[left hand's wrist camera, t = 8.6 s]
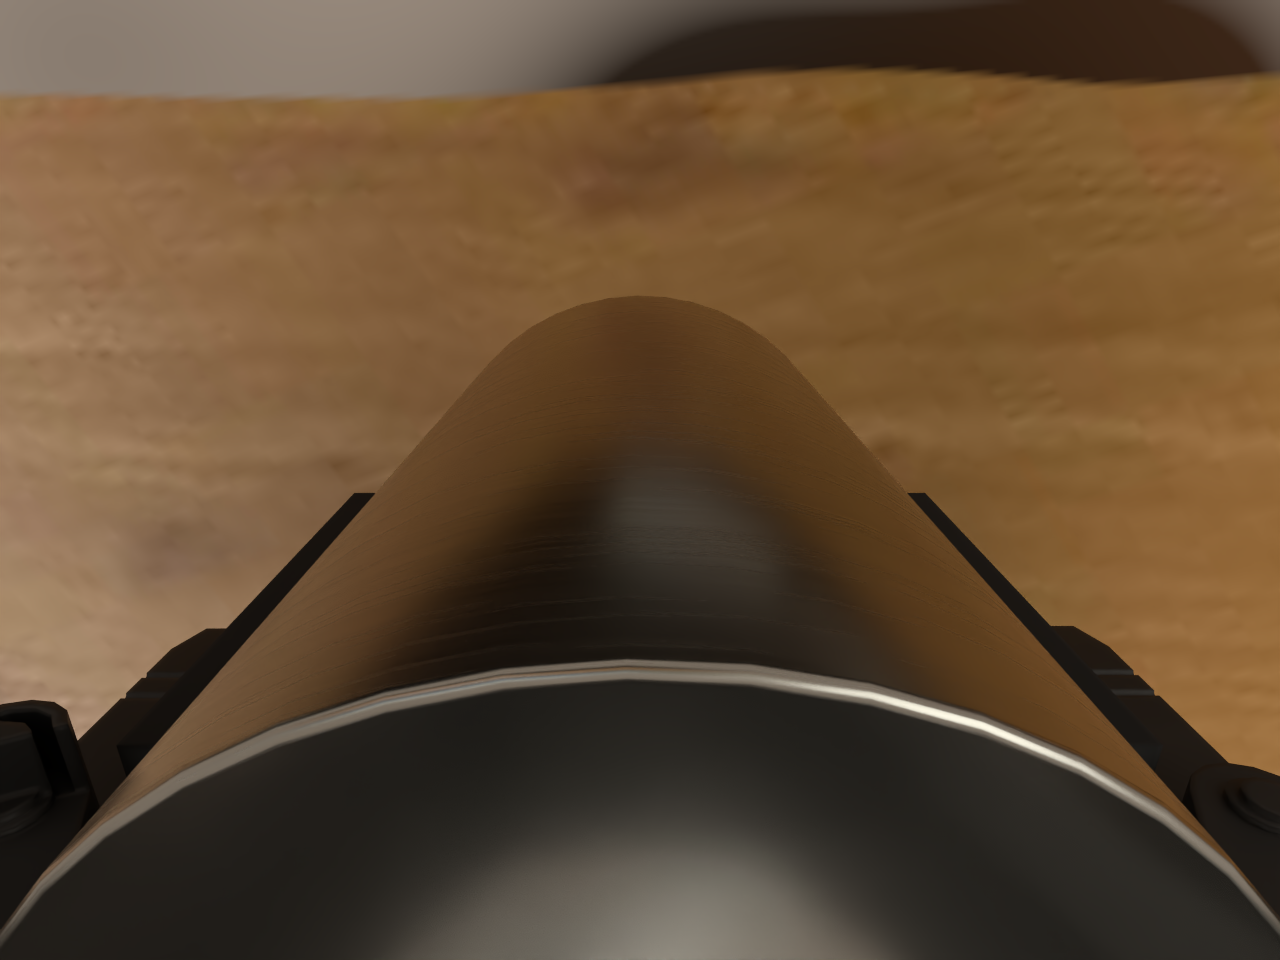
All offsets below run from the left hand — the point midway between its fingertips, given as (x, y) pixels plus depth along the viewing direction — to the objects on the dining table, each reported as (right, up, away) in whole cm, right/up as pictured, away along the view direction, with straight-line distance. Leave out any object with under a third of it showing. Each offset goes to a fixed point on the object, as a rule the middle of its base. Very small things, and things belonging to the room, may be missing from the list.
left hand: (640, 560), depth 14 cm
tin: (0, +1, +3) cm, 3 cm away
